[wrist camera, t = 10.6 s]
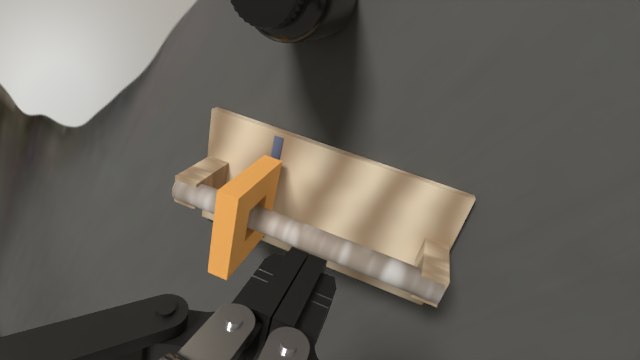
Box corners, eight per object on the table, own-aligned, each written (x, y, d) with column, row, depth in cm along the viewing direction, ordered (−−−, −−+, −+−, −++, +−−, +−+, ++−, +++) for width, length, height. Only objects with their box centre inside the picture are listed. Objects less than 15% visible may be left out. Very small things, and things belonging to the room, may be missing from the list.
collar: (282, 161, 37) (238, 199, 29) (268, 230, 41) (226, 280, 34) (264, 154, 38) (216, 190, 30) (252, 224, 42) (207, 271, 34)
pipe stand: (474, 195, 35) (481, 240, 28) (422, 299, 41) (417, 356, 34) (217, 106, 39) (167, 125, 32) (206, 212, 46) (163, 246, 39)
